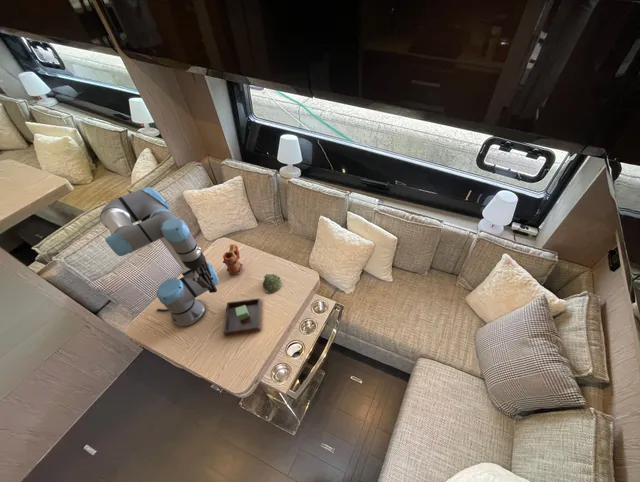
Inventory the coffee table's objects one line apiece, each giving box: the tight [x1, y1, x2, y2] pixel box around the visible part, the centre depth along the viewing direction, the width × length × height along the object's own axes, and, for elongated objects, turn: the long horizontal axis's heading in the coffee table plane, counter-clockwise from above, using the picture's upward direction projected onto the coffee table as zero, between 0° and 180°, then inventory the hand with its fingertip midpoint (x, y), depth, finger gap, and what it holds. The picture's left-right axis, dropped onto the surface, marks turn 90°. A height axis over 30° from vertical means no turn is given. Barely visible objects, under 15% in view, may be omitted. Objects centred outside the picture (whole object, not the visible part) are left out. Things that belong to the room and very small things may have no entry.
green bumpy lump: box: [262, 273, 282, 294], centre depth 156 cm, size 10×7×10 cm
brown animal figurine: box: [222, 243, 243, 276], centre depth 159 cm, size 15×8×15 cm, turn 179°
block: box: [235, 305, 249, 321], centre depth 141 cm, size 5×5×5 cm
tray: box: [222, 297, 262, 337], centre depth 142 cm, size 17×18×3 cm
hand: (213, 291), depth 122 cm, fingers closed
